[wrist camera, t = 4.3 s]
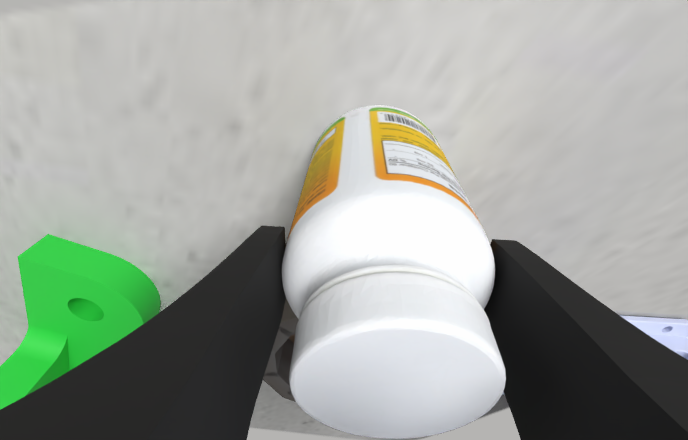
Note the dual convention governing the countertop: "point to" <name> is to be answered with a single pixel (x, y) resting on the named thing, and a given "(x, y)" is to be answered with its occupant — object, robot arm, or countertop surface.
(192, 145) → the countertop surface
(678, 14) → the countertop surface
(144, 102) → the countertop surface
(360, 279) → the supplement bottle
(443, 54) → the countertop surface
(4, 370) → the mechanical part
